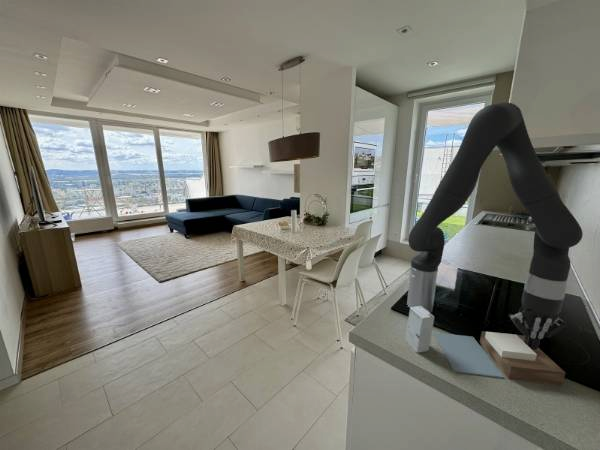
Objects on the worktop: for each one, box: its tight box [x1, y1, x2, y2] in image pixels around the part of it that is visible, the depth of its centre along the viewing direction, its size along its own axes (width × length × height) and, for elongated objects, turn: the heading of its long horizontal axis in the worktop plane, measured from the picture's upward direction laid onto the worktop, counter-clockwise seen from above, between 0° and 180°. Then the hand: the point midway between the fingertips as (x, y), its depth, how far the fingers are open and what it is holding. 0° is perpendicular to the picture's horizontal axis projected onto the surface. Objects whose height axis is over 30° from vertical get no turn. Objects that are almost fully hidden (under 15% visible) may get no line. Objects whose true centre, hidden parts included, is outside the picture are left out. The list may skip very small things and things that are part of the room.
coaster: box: [485, 331, 537, 361], centre depth 68 cm, size 8×8×2 cm
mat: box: [433, 332, 505, 379], centre depth 72 cm, size 16×12×1 cm
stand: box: [479, 331, 566, 387], centre depth 68 cm, size 14×12×4 cm
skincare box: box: [405, 306, 435, 353], centre depth 74 cm, size 6×4×12 cm
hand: (530, 347), depth 67 cm, fingers closed
